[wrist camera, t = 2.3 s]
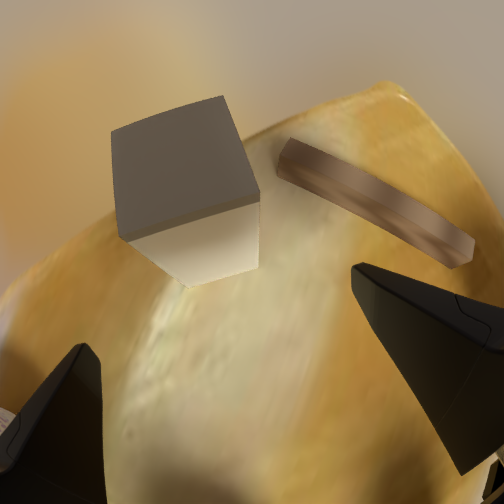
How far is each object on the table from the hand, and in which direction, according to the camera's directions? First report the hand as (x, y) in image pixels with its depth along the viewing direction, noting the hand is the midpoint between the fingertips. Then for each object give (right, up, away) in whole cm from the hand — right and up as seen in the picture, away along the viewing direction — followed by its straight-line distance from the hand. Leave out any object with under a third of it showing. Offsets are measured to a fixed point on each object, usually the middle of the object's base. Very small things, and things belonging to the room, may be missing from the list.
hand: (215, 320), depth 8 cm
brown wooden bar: (+12, +5, +14) cm, 19 cm away
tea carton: (-2, +3, +14) cm, 14 cm away
